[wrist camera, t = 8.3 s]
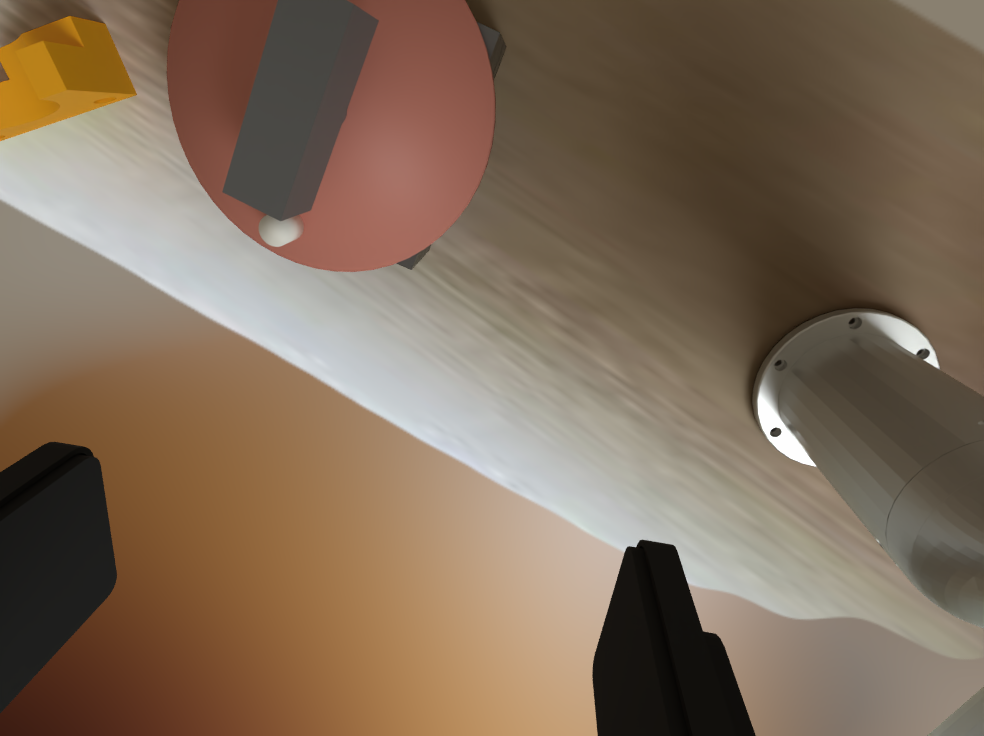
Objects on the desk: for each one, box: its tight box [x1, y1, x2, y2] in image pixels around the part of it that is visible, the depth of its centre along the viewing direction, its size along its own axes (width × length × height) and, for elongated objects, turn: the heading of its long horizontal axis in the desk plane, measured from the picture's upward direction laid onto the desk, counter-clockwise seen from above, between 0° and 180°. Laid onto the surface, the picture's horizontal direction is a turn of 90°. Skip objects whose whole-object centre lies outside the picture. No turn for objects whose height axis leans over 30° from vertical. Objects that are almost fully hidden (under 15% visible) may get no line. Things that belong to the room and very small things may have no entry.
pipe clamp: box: [0, 16, 137, 141], centre depth 37 cm, size 12×4×6 cm, turn 105°
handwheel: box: [167, 0, 496, 272], centre depth 29 cm, size 18×18×7 cm
